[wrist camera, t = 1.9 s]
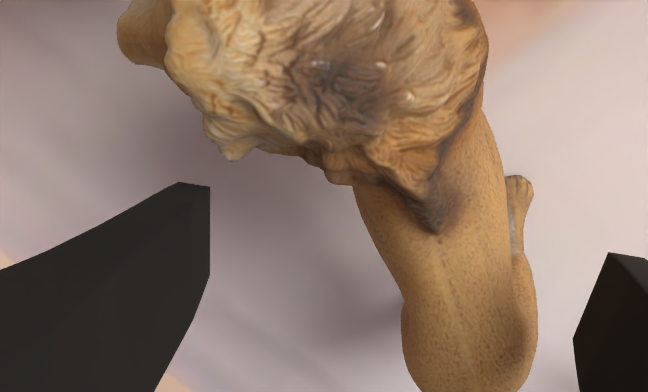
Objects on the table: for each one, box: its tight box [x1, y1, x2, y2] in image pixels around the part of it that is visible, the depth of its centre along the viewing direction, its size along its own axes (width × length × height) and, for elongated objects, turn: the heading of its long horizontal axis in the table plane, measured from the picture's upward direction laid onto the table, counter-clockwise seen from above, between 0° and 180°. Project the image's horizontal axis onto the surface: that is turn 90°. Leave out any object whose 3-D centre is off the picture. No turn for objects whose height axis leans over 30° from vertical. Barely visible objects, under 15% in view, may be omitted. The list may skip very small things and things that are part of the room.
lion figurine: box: [117, 0, 538, 392], centre depth 13 cm, size 15×5×9 cm, turn 30°
